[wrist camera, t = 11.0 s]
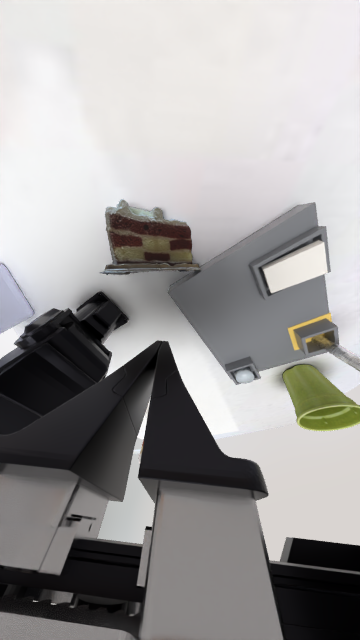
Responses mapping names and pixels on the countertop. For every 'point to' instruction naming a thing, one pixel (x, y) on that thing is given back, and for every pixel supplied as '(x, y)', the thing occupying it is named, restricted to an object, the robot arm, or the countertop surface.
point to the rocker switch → (296, 267)
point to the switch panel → (259, 299)
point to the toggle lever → (337, 351)
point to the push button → (244, 375)
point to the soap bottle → (11, 302)
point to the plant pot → (319, 401)
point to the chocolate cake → (146, 241)
